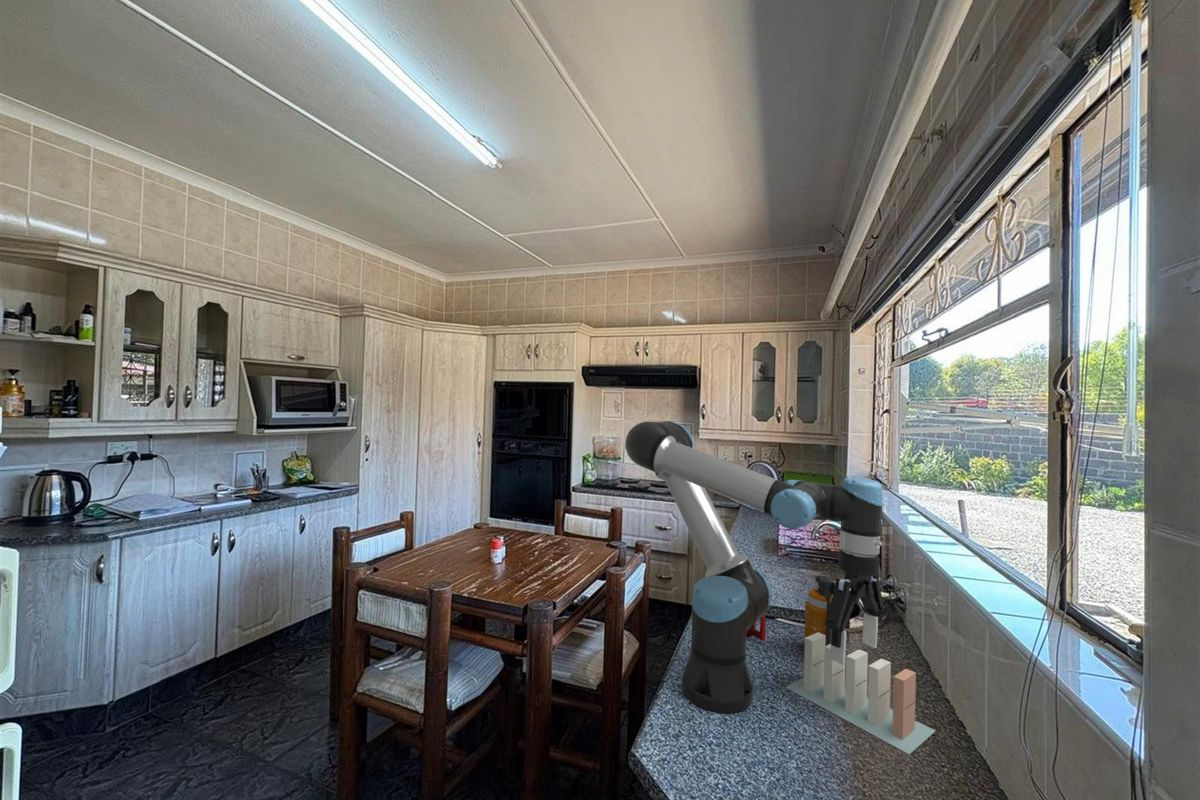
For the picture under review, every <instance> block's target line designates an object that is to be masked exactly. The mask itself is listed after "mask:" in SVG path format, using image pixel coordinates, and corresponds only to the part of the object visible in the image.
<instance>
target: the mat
mask: <svg viewBox="0 0 1200 800" xmlns="http://www.w3.org/2000/svg"><path fill="white" fill-rule="evenodd" d="M785 688H786V689H787V690H790V691H791V692H793V693H795V694H797V695H799V696H801V697H802V698H804V699H806V700H808V701H810V702H812V703H813V704H815V705H816V706H817V705H818V706H819V707H821V708H823V709H825V710H827V711H829V712H830V713H832V714H834V715H835V716H838V717H839V718H842V719H843V720H845V721H847V722H849V723H851V724H852V725H854V726H856V727H858V728H859V729H861V730H863V731H865V732H867V733H869V734H870V735H873V736H874V737H877V738H878V739H880V740H882V741H884V742H885V743H887V744H889V745H891V746H892V747H895V748H897V749H899V750H900V751H902V752H904V753H906V754H908V755H911V754H912V753H913V752H914V751H915V750H917V748H918V747H919V746H921V744H923V743H924V742H925V741H927V739H928V738H929V737H931V736H932V735H933V734H934V733H935V732H936V731H937V730H936V729H934V728H931V727H929V726H927V725H926V724H924V723H922V722H919V721H916V720H915V730H914V731H913V732H911V733H910V734H909V735H908V736H907V737H905V738H904V739H903V740H902V739H900V738H898V737H897V736H895V735H893V734H892V733H893V708H890V717H889V718H888V719H886V720H885V721H884V722H882V723H881V724H880V725H878V726H876V725H874V724H872V723H870V722H868V696H867V706H865V707H864V708H862V709H861V710H859V711H858V712H856V713H855V714H853V713H851V712H849V711H847V710H845V694H844V695H843V696H841V697H840V698H838V699H836V700H835V701H833V702H830V701H828V700H826V699H824V698H823V694H824V685H822V686H820V687H819V688H817V689H815V690H813V691H812V692H811V691H809V690H807V689H805V688H804V677H802V678H800V679H798V680H796V681H794V682H793V683H791V684H788V685H786V686H785ZM845 692H846V686H845Z"/></svg>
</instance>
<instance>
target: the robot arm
mask: <svg viewBox="0 0 1200 800" xmlns="http://www.w3.org/2000/svg"><path fill="white" fill-rule="evenodd" d="M624 444H625V446H624V447H625V451H626V454H627V456H628V457H629V458H630V460H631V461H632V462H633V463H634V464H636V465H637V466H639V467H642V468H645V470H646V469H647V470H649V471H651V472H654V474H655V476H656V478H657V479H660V480H662V481H664V482H665V483H666V486H667V488H668V490H669V493H670V494H671V496H672V498H673V500H674V502H675V505H676V506H677V508H678V512H679V513H680V515H681V517H682V519H683V521H684V523H685V526H686V527H687V530H688V531H689V533H690V536H691V537H692V540H693V541H694V543H695V545H696V548H697V550H698V552H699V554H700V556H701V557H702V560H703V563H704V564H705V566H706V571H705V576H704V577H703V578H701V579H700V580H698V581H697V582H696V583H695V585H694V586H693V590H692V597H691V606H692V607H691V637H690V638H691V640H690V642H691V643H690V654H689V656H688V658H687V661H686V664H685V667H684V669H683V672H682V675H681V689H682V690H681V691H682V693H683V694H684V696H685V697H686V698H687V699H688V700H689V701H690V702H691V703H692V704H694V705H696V706H699V707H700V708H702V709H705V710H708V711H711V712H715V713H721V714H722V713H723V714H731V713H733V714H734V713H739V712H743V711H746V710H747V709H748V708H749V707H750V706H751V705H752V704H753V701H754V685H753V682H752V678H751V675H750V672H749V668H748V665H747V662H746V653H747V638H746V633H747V631H748V630H749V629H750V628H751V627H752V626H753V625H754V624H755V623H756V624H757V622H758V621H760V619H761V618H762V617H763V616H764V615H765V613H766V614H767V611H768V609H769V607H770V605H771V601H772V589H771V586H770V584H769V582H768V579H767V578H766V577H765V576H764V575H763V574H762V573H761V572H760V571H759V570H756V569H755V568H754V567H753V565H752V564H751V562H750V559H749V558H748V557H746V556H744V555H741V554H740V553H739V552H738V550H737V548H736V546H735V544H734V542H733V539H732V538H731V537H730V535H729V534H730V533H728V530H727V529H726V526H725V525H724V523H723V521H722V518H721V517H720V515H719V513H718V510H717V509H716V508H715V505H714V502H713V501H712V499H711V497H710V495H709V494H708V491H711V492H713V493H715V494H718V495H720V496H723V497H725V498H728V499H730V500H732V501H734V502H737V503H740V504H742V505H745V506H747V507H750V508H752V509H754V510H756V511H759V512H761V513H764V514H767V515H768V516H770V517H773V519H774V520H775V521H776V523H778V524H779V525H780V526H782V527H784V528H786V529H793V530H794V529H801V528H802V527H805V526H808V525H809V524H811V523H812V522H813V520H815V519H817V518H819V519H820V518H821V519H827V520H833V521H839V522H840V533H839V546H838V547H839V548H840V550H839V553H838V567H839V568H840V569H841V570H842V571H843V572H844V578H843V579H842V578H838V577H836V579H835V582H834V583H835V590H834V594H833V597H832V601H831V604H830V607H829V611H828V614H827V618H826V621H825V626H826V627H828V628H831V645H830V659H831V660H833V661H835V662H837V663H839V664H842V665H844V664H845V665H846V651H847V650H846V647H847V631H845V629H846V626H847V624H848V621H849V619H850V616H851V613H852V611H853V610H854V606H855V604H858V603H859V601H860V600H861V602H862V605H863V607H864V609H865V612H864V613H863V622H862V639H861V640H862V642H861V643H862V644H864V645H867V646H869V647H871V648H874V649H876V648H877V645H878V631H879V630H878V626H879V618H884V617H885V615H884V614H885V613H884V611H885V606H884V602H883V600H884V599H883V596H882V591H881V587H880V582H879V581H880V580H879V579H880V577H879V576H880V575H879V574H880V557H879V554H880V551H881V550H880V547H882V546H883V543H882V541H881V534H882V533H881V531H882V519H883V517H882V516H883V505H884V503H883V486H882V484H881V483H880V482H879V481H877V480H873V479H868V478H860V477H845V478H843V479H842V483H841V485H833V484H826V483H821V482H815V481H813V482H812V481H807V480H803V479H799V480H797V479H788V480H786V481H785V482H784V481H782V480H779V479H777V478H774V477H771V476H768V475H766V474H763V473H761V472H758V471H755V470H752V469H749V468H746V467H744V466H742V465H740V464H739V465H738V464H735V463H733V462H731V461H727V460H725V459H723V458H720V457H717V456H714V455H712V454H709V453H707V452H704V451H700V450H698V449H696V448H694V447H695V445H694V444H695V443H694V438H693V436H692V434H691V432H690V431H689V429H687V428H686V427H685V426H684V425H682V424H680V423H677V422H674V421H667V420H664V421H642V422H639V423H638V424H635V425H634V426H633V427H632V428H631V429H630V430H629V431H628V433H627V435H626V438H625V443H624Z"/></svg>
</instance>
